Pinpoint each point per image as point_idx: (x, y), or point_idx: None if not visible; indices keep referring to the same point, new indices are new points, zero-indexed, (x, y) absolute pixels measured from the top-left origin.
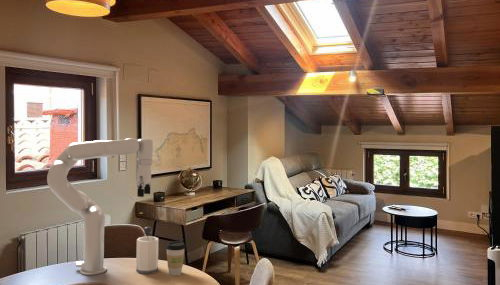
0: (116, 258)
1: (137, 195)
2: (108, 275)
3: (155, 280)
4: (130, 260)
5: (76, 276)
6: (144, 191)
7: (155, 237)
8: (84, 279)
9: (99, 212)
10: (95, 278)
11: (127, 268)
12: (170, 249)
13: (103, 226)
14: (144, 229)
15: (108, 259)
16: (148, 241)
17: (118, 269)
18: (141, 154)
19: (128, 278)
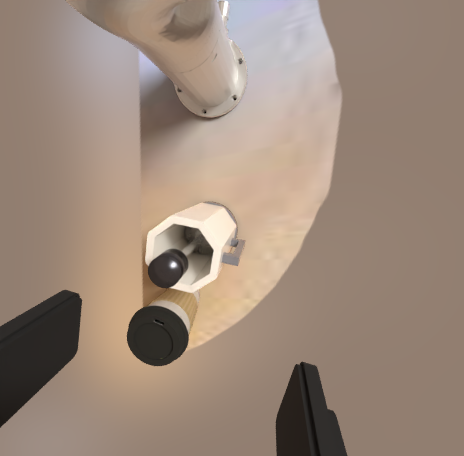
0: (328, 123)
1: (57, 294)
2: (174, 132)
3: (142, 252)
4: (301, 173)
5: None
6: (298, 389)
7: (204, 282)
8: (146, 73)
9: None
10: (153, 102)
11: (227, 175)
12: (131, 319)
13: (132, 42)
14: (158, 256)
15: (320, 97)
16: (149, 259)
17: (220, 151)
18: None
19: (153, 189)
